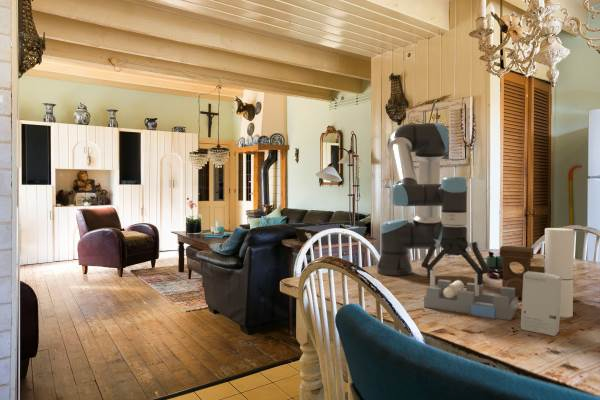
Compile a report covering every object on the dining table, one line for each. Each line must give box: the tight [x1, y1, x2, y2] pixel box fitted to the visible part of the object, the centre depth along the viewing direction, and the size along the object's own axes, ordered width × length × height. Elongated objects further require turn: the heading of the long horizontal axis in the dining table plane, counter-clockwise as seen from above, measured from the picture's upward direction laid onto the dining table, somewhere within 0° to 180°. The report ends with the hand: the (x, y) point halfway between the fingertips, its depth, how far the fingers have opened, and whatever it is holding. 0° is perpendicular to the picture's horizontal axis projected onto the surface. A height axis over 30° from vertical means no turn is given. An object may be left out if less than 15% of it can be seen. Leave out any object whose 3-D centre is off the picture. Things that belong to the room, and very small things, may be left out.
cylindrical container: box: [544, 227, 575, 318], centre depth 122 cm, size 7×7×25 cm
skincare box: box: [520, 271, 562, 337], centre depth 108 cm, size 8×6×15 cm
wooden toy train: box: [499, 245, 545, 299], centre depth 141 cm, size 20×11×17 cm, turn 58°
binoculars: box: [485, 250, 504, 280], centre depth 172 cm, size 9×11×10 cm
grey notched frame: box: [423, 279, 519, 321], centre depth 129 cm, size 25×15×6 cm, turn 56°
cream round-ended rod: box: [443, 279, 465, 299], centre depth 132 cm, size 4×14×4 cm, turn 146°
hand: (454, 292), depth 132 cm, fingers open, 13 cm apart
